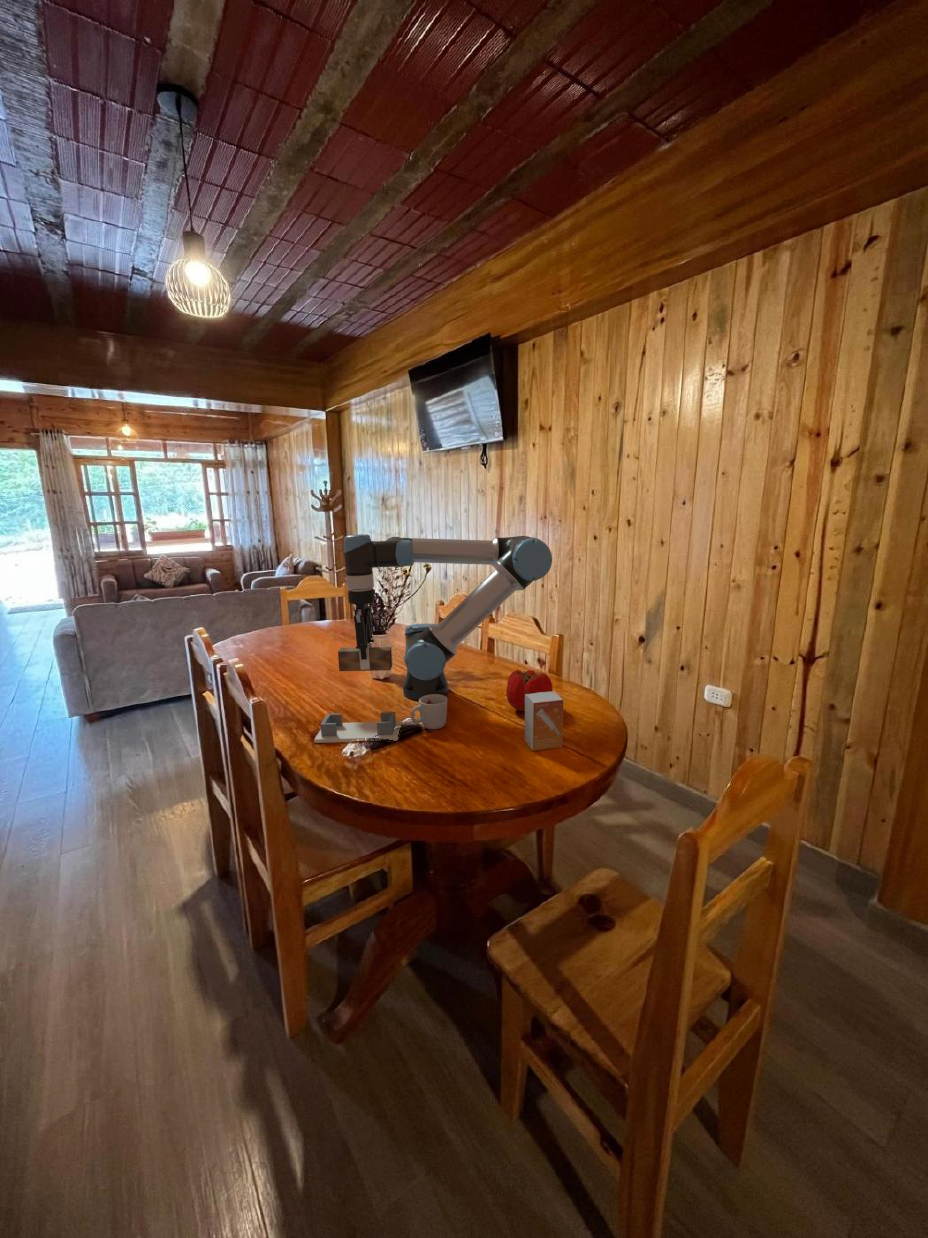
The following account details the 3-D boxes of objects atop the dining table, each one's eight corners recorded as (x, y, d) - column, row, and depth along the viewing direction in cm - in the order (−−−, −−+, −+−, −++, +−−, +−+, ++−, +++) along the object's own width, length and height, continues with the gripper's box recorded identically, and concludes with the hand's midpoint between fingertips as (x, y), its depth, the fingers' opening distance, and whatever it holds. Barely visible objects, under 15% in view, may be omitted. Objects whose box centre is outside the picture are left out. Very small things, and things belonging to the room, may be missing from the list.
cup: (417, 737, 135) (415, 709, 133) (406, 726, 141) (405, 699, 140) (453, 727, 139) (452, 701, 138) (441, 717, 146) (440, 691, 144)
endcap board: (402, 724, 142) (401, 709, 141) (397, 740, 133) (396, 725, 132) (324, 726, 143) (323, 711, 142) (314, 742, 133) (313, 727, 132)
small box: (532, 752, 125) (533, 703, 122) (524, 740, 131) (524, 693, 128) (563, 747, 126) (564, 699, 123) (553, 736, 132) (553, 690, 130)
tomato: (560, 706, 152) (560, 669, 149) (532, 722, 141) (532, 683, 139) (524, 696, 160) (524, 661, 158) (496, 710, 150) (495, 673, 148)
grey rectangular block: (392, 666, 151) (391, 646, 150) (390, 670, 147) (389, 650, 146) (342, 666, 151) (340, 647, 150) (339, 671, 147) (337, 651, 146)
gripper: (354, 584, 152) (360, 658, 157) (340, 594, 135) (347, 676, 141) (378, 583, 152) (384, 657, 157) (368, 593, 135) (374, 675, 141)
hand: (366, 666), depth 149 cm, fingers closed on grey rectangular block, 4 cm apart
